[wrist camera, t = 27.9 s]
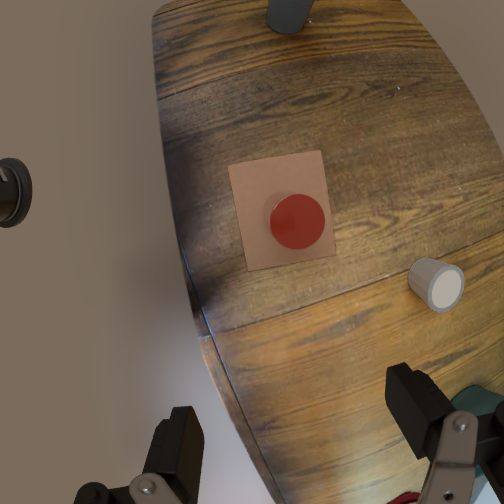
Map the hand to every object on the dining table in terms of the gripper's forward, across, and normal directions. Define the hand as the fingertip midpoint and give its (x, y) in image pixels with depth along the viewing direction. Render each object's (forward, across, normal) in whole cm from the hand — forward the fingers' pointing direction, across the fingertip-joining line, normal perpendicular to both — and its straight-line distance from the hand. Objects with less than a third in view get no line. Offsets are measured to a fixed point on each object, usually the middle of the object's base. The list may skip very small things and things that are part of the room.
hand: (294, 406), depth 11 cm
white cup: (+30, +24, -9) cm, 40 cm away
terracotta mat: (+30, +4, +4) cm, 31 cm away
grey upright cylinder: (+30, +10, +31) cm, 44 cm away
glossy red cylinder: (+30, +4, +4) cm, 30 cm away
